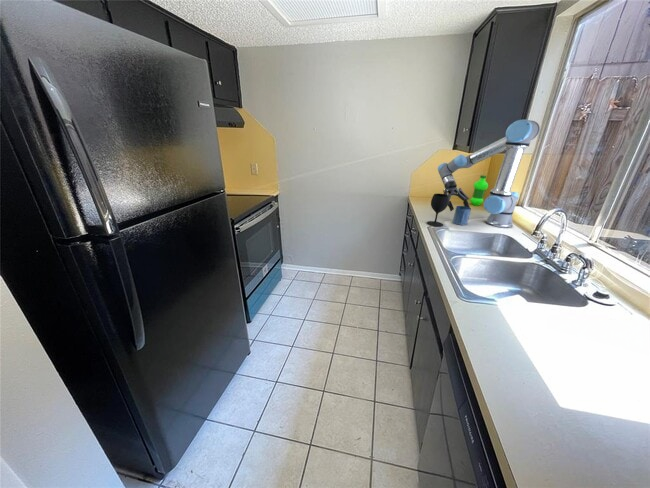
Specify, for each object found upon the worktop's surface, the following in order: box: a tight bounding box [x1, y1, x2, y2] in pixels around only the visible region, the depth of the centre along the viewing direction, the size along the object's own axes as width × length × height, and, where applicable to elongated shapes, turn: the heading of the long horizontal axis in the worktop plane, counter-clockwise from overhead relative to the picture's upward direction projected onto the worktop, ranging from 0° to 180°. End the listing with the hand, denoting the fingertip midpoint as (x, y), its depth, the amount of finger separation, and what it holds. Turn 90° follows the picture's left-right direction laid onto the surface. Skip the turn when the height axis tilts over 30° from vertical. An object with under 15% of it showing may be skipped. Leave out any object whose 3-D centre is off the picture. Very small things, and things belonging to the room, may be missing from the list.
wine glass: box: [426, 193, 449, 228], centre depth 170 cm, size 10×10×20 cm
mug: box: [452, 205, 472, 226], centre depth 174 cm, size 12×9×11 cm
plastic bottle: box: [469, 174, 489, 207], centre depth 220 cm, size 10×10×25 cm
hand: (460, 209), depth 176 cm, fingers open, 13 cm apart
